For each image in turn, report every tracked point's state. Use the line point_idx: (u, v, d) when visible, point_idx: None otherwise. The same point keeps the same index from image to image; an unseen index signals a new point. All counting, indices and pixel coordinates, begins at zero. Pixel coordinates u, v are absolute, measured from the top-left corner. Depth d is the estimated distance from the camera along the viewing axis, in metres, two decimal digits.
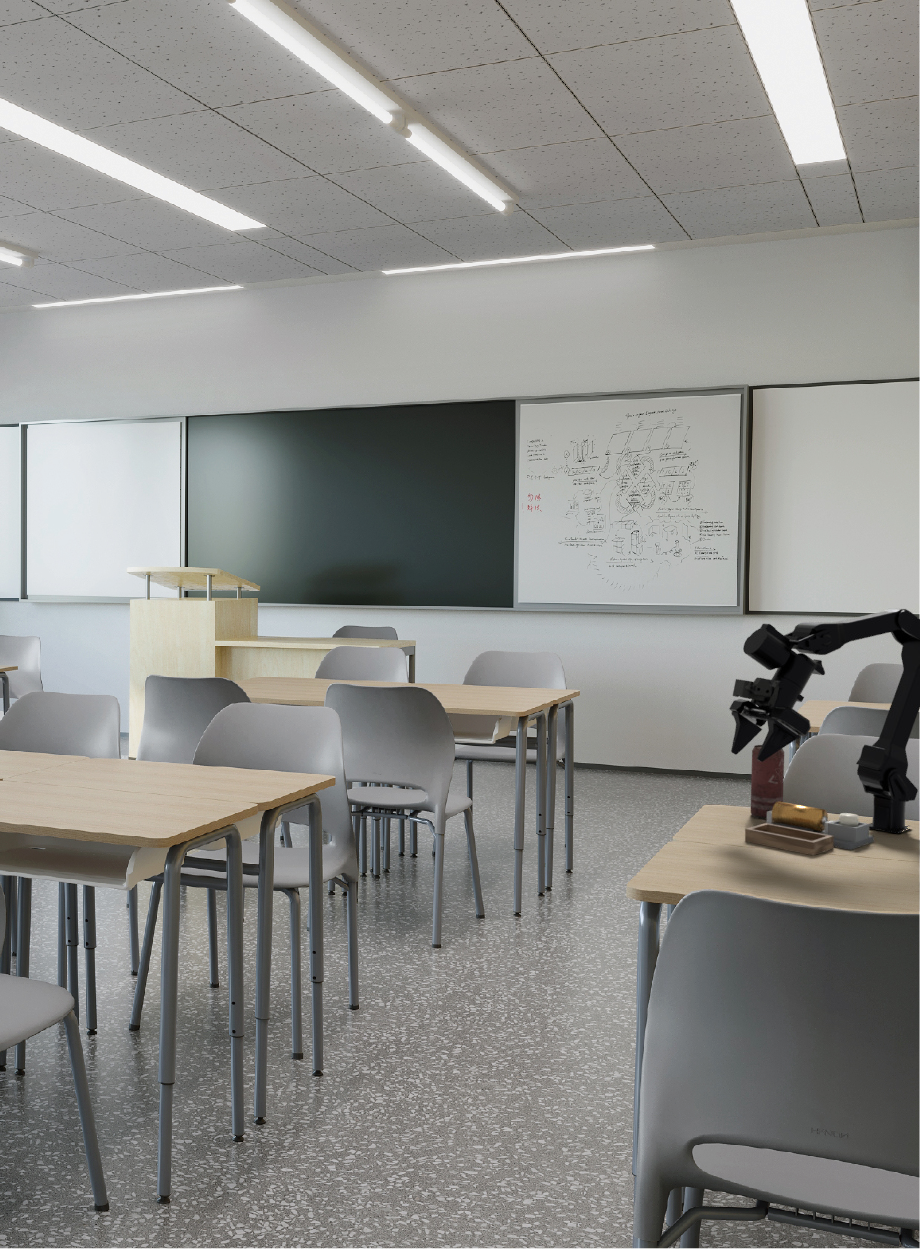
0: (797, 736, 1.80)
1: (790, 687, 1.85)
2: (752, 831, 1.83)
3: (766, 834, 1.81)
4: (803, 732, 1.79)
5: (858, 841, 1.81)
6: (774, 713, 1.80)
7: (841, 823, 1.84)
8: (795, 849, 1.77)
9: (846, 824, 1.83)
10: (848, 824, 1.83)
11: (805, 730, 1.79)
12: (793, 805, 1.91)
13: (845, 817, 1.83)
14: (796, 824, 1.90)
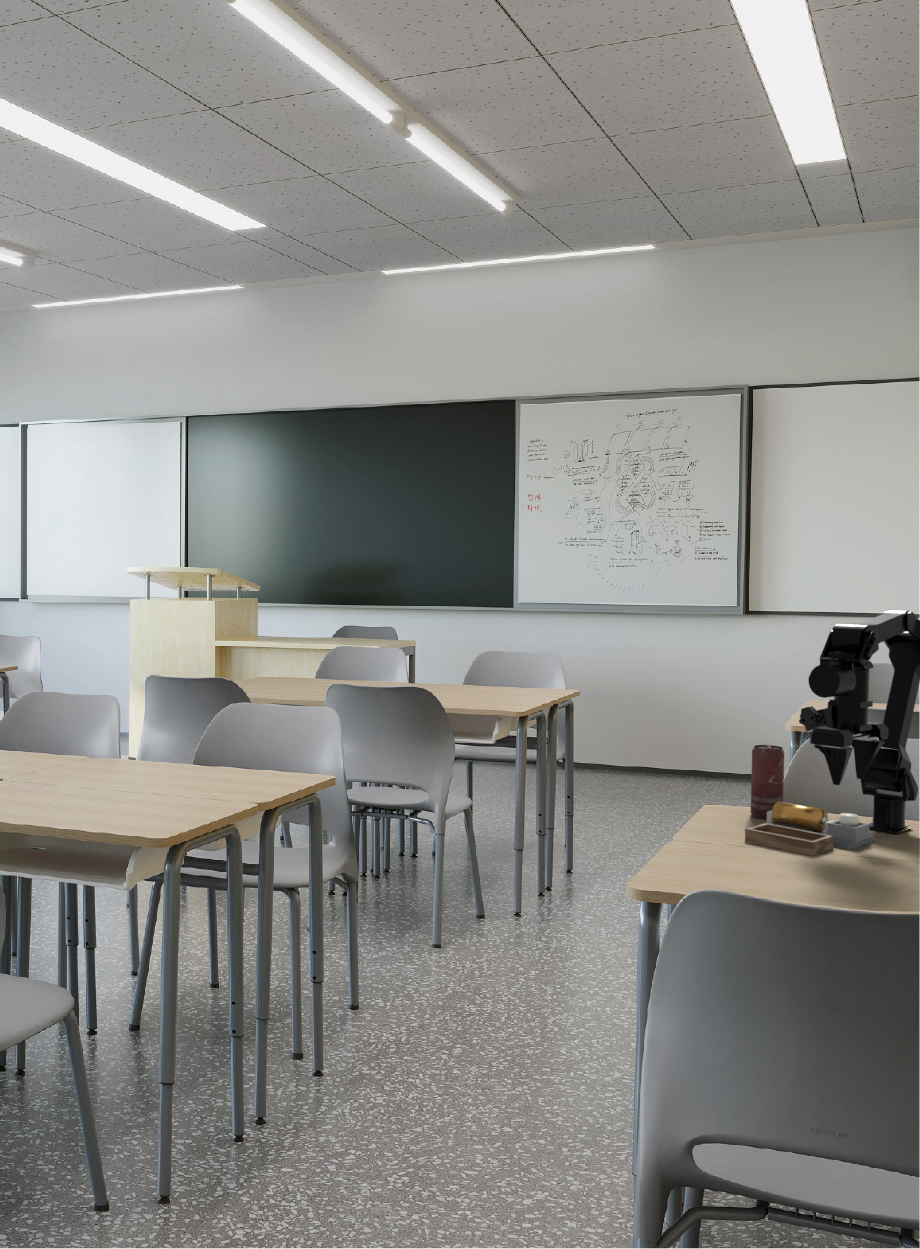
0: (840, 750, 1.76)
1: (840, 700, 1.82)
2: (752, 831, 1.83)
3: (766, 834, 1.81)
4: (836, 745, 1.76)
5: (858, 841, 1.81)
6: None
7: (841, 823, 1.84)
8: (795, 849, 1.77)
9: (846, 824, 1.83)
10: (848, 824, 1.83)
11: (836, 742, 1.76)
12: (793, 805, 1.91)
13: (845, 817, 1.83)
14: (796, 824, 1.90)
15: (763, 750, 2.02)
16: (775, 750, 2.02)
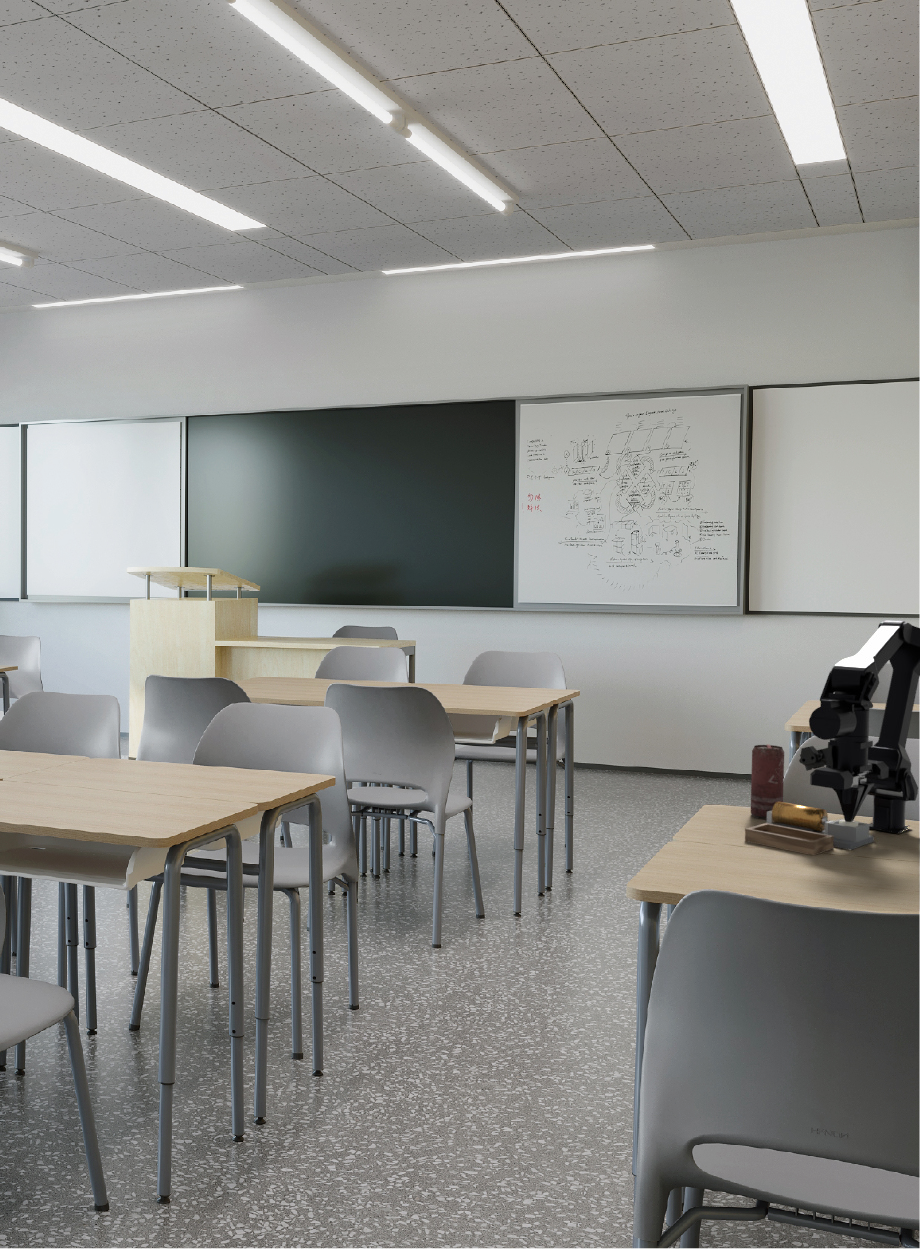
0: (852, 788, 1.80)
1: (840, 741, 1.82)
2: (752, 831, 1.83)
3: (766, 834, 1.81)
4: (836, 787, 1.76)
5: (858, 841, 1.81)
6: None
7: None
8: (795, 849, 1.77)
9: None
10: None
11: (837, 784, 1.76)
12: (793, 805, 1.91)
13: (845, 823, 1.83)
14: (796, 824, 1.90)
15: (763, 750, 2.02)
16: (775, 750, 2.02)
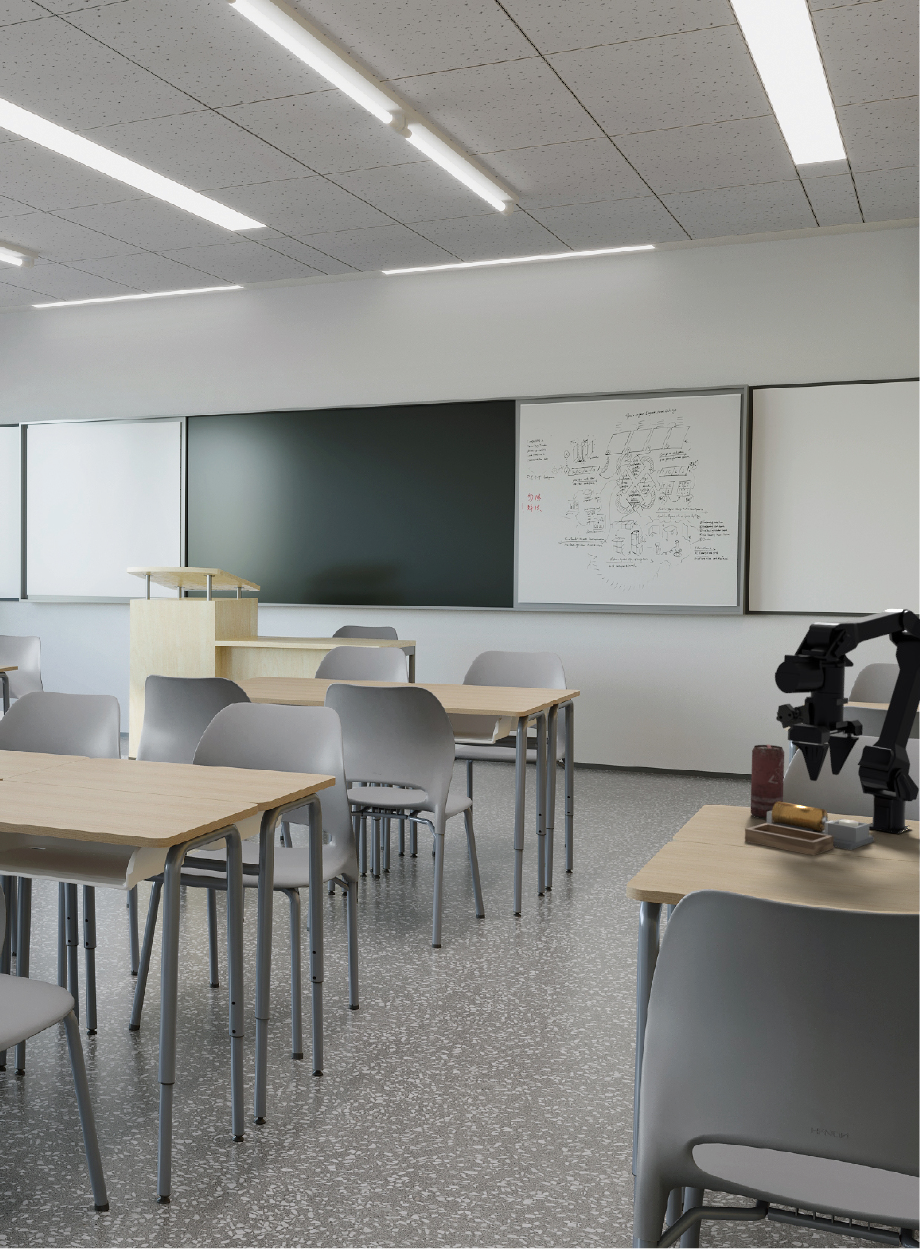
0: (817, 746, 1.79)
1: (816, 697, 1.85)
2: (752, 831, 1.83)
3: (766, 834, 1.81)
4: (813, 742, 1.79)
5: (858, 841, 1.81)
6: None
7: None
8: (795, 849, 1.77)
9: None
10: None
11: (814, 739, 1.78)
12: (793, 805, 1.91)
13: (845, 824, 1.83)
14: (796, 824, 1.90)
15: (763, 750, 2.02)
16: (775, 750, 2.02)
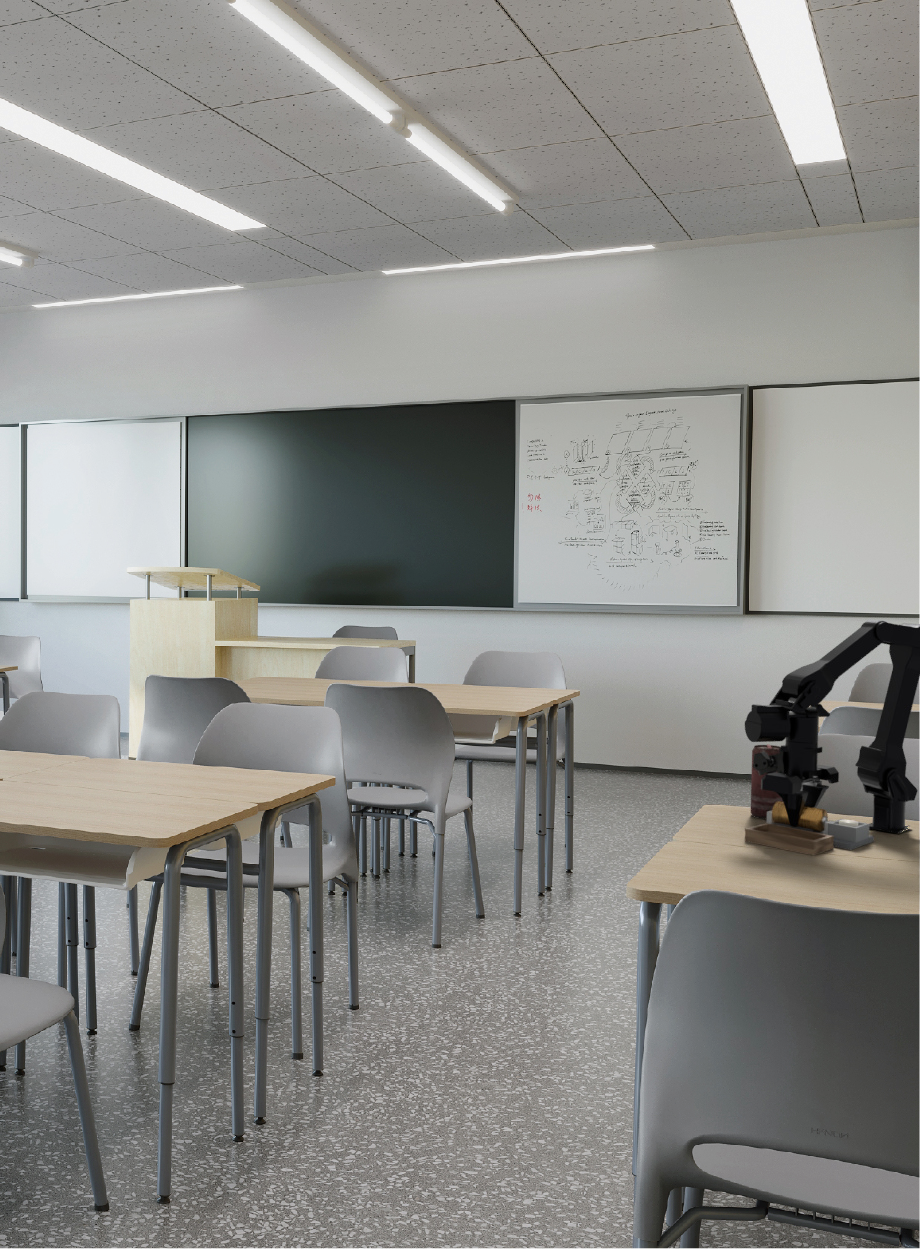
0: (796, 794, 1.85)
1: (790, 747, 1.89)
2: (752, 831, 1.83)
3: (766, 834, 1.81)
4: (785, 792, 1.83)
5: (858, 841, 1.81)
6: None
7: None
8: (795, 849, 1.77)
9: None
10: None
11: (785, 789, 1.83)
12: None
13: (845, 824, 1.83)
14: None
15: (763, 750, 2.02)
16: (775, 750, 2.02)
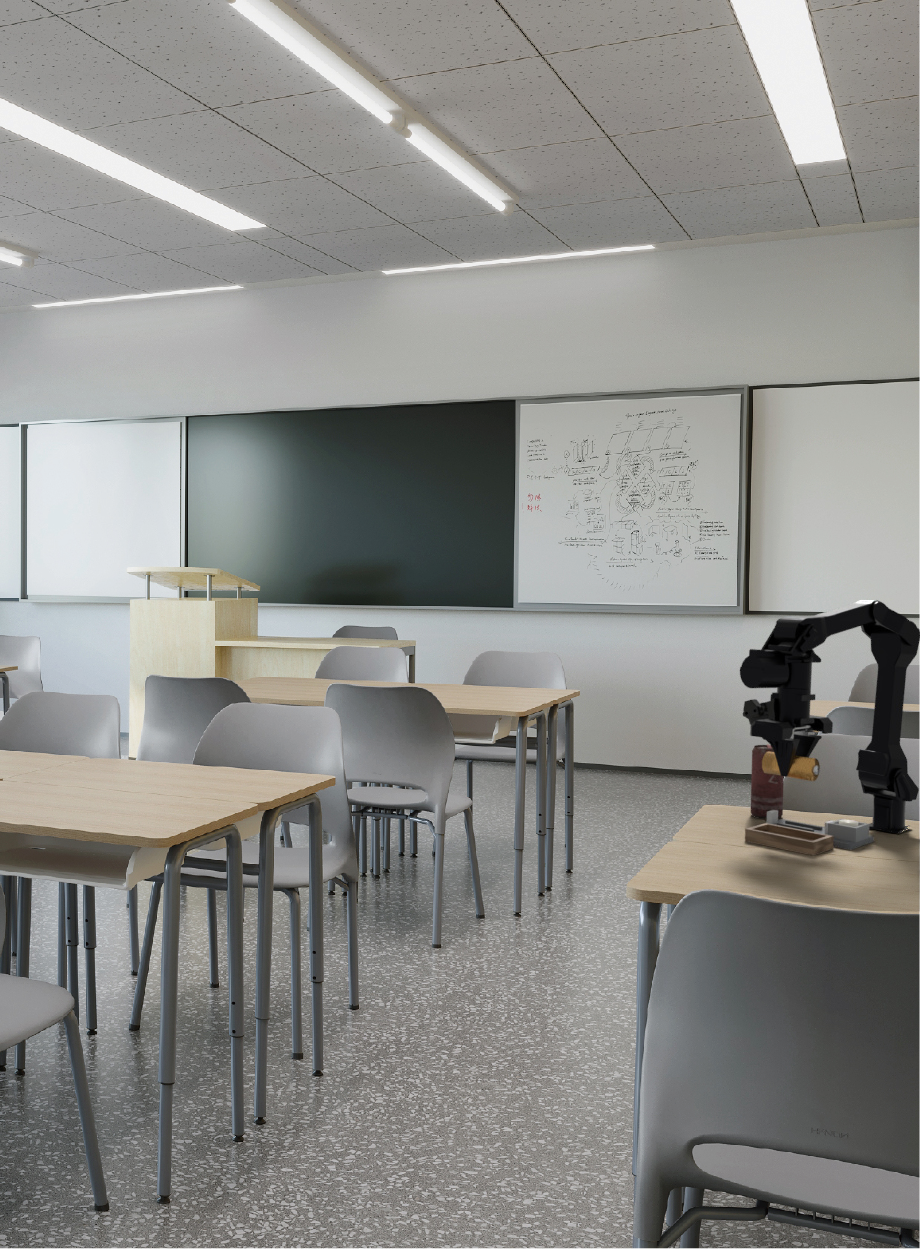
0: (786, 741, 1.78)
1: (782, 693, 1.82)
2: (752, 831, 1.83)
3: (766, 834, 1.81)
4: (774, 737, 1.75)
5: (858, 841, 1.81)
6: None
7: None
8: (795, 849, 1.77)
9: None
10: None
11: (775, 734, 1.75)
12: None
13: (845, 824, 1.83)
14: None
15: (763, 750, 2.02)
16: None
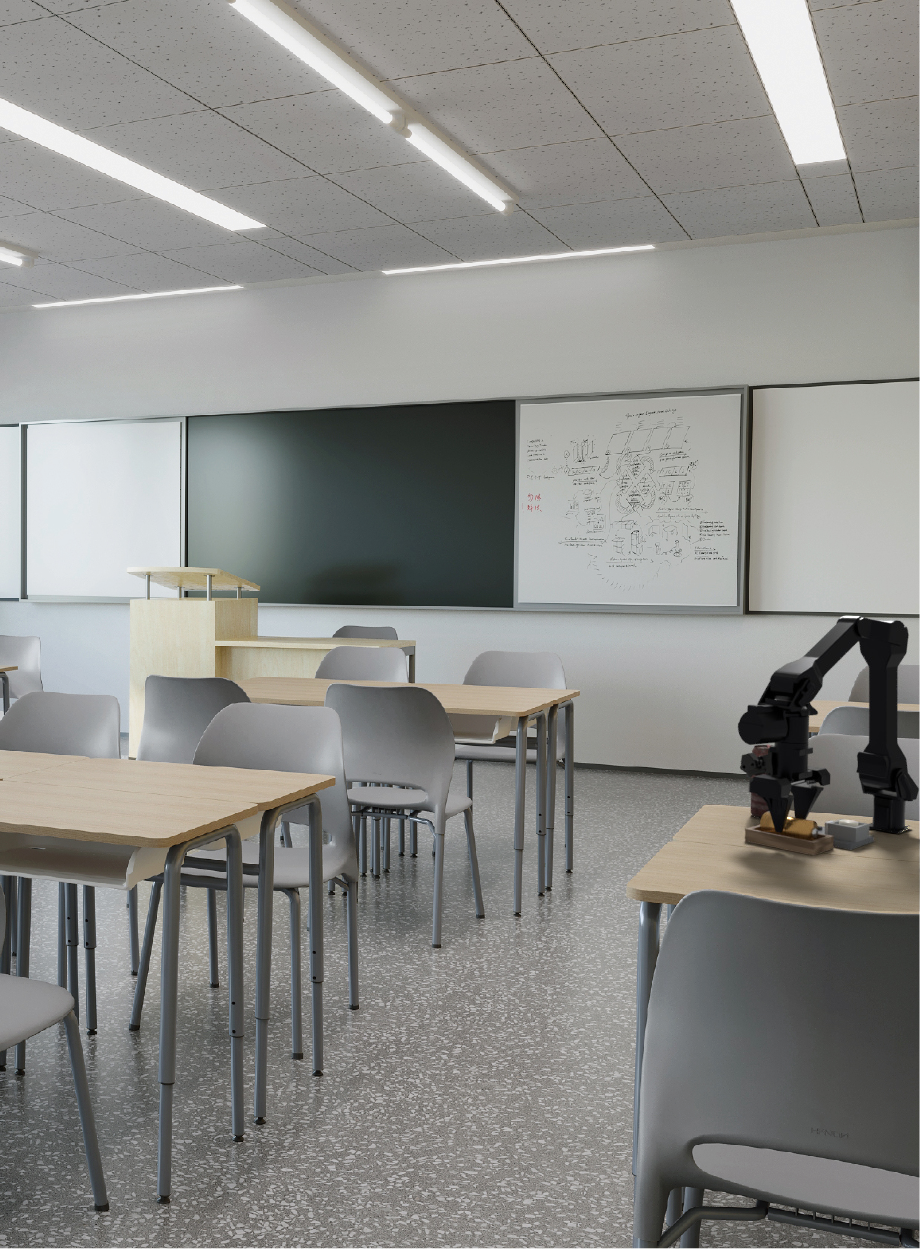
0: (780, 798, 1.75)
1: (779, 747, 1.80)
2: (752, 831, 1.83)
3: (766, 834, 1.81)
4: (773, 795, 1.74)
5: (858, 841, 1.81)
6: None
7: None
8: (795, 849, 1.77)
9: None
10: None
11: (774, 792, 1.74)
12: None
13: (845, 824, 1.83)
14: None
15: (763, 750, 2.02)
16: None
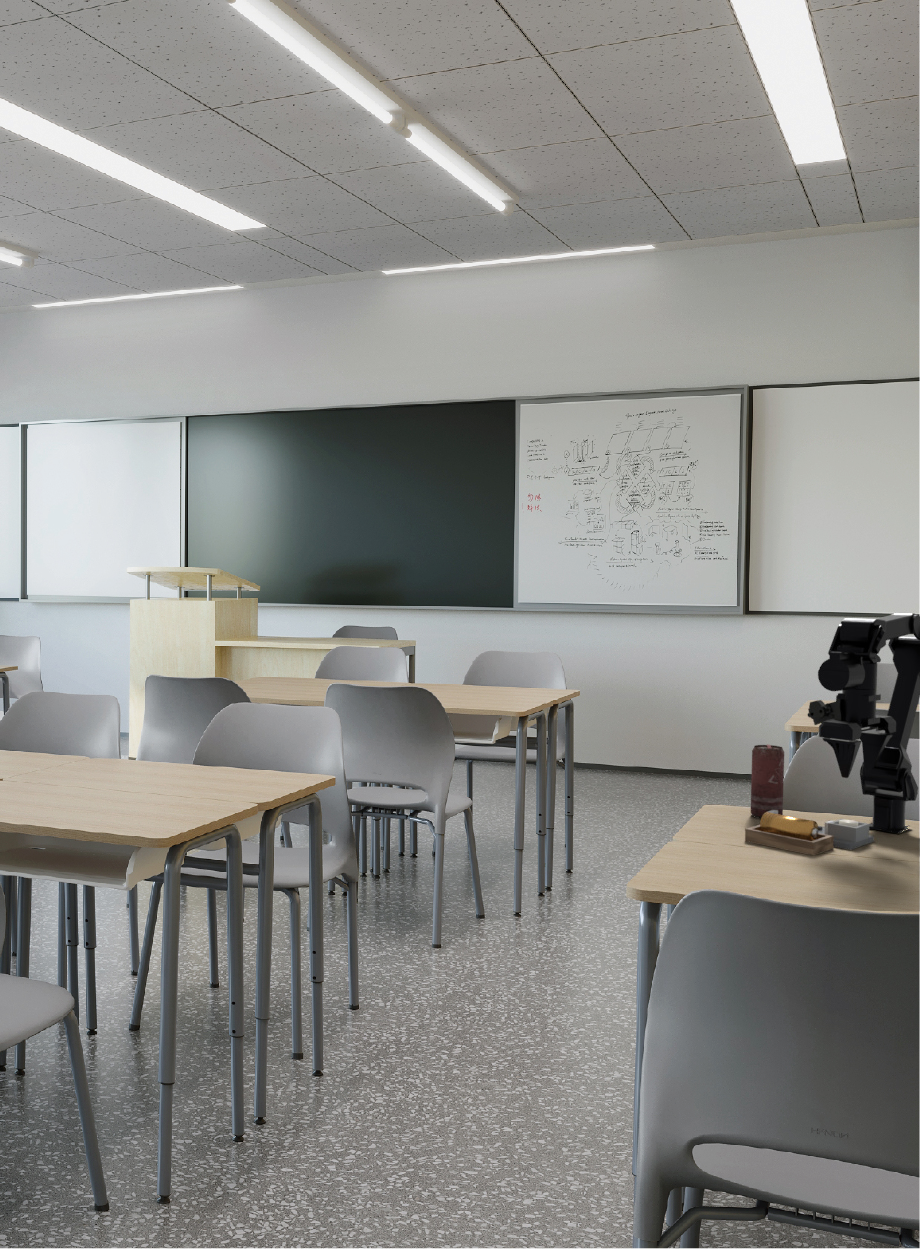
0: (848, 743, 1.78)
1: (848, 694, 1.83)
2: (752, 831, 1.83)
3: (766, 834, 1.81)
4: (844, 738, 1.77)
5: (858, 841, 1.81)
6: None
7: None
8: (795, 849, 1.77)
9: None
10: None
11: (845, 735, 1.77)
12: (782, 816, 1.82)
13: (845, 824, 1.83)
14: None
15: (763, 750, 2.02)
16: (775, 750, 2.02)
